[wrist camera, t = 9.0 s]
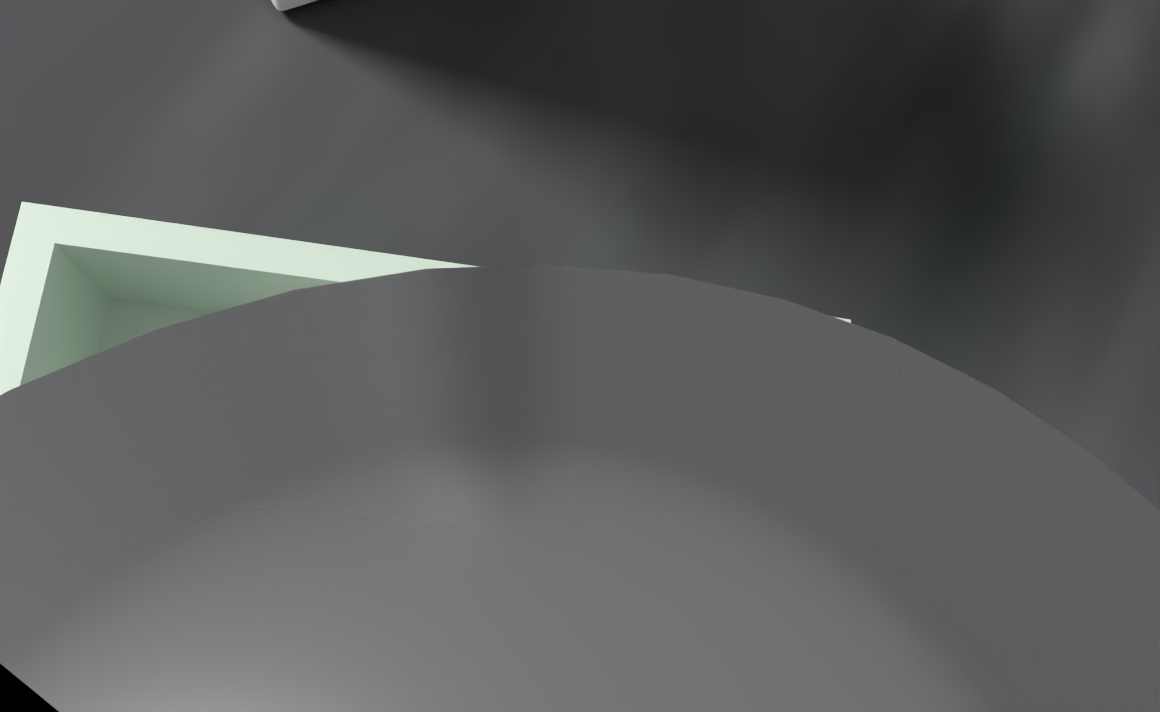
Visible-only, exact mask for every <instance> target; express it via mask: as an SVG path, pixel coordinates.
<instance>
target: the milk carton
mask: <svg viewBox="0 0 1160 712" xmlns="http://www.w3.org/2000/svg"><path fill="white" fill-rule="evenodd" d="M271 1H272V3H273V4H274V6H275V7H276V9H277V10H279V11H285V10H288V9H291V8H295V7H298V6H301V5H304V4H308V3H311V2H314V1H317V0H271Z"/></svg>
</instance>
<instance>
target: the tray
mask: <svg viewBox="0 0 1160 712" xmlns="http://www.w3.org/2000/svg"><path fill="white" fill-rule="evenodd" d="M461 267H477V266H470V265H463V264H456V263H449V262H442V261H435V260H428V259H421V258H414V257H407V256H400V255H393V254H386V253H379V252H372V251H365V250H358V249H351V248H344V247H337V246H330V245H323V244H316V243H309V242H302V241H295V240H287V239H280V238H273V237H266V236H259V235H252V234H245V233H238V232H231V231H224V230H217V229H210V228H203V227H196V226H189V225H182V224H175V223H168V222H161V221H154V220H147V219H140V218H133V217H126V216H119V215H112V214H104V213H97V212H90V211H83V210H76V209H69V208H62V207H55V206H48V205H41V204H34V203H27V202H22V203H21V207H20V211H19V215H18V219H17V223H16V226H15V230H14V234H13V238H12V242H11V246H10V250H9V254H8V257H7V261H6V265H5V269H4V273H3V277H2V281H1V285H0V395H2V394H4V393H5V392H7V391H9V390H11V389H13V388H16V387H18V386H21V385H23V384H25V383H28V382H30V381H33V380H35V379H37V378H40V377H42V376H45V375H47V374H50V373H52V372H54V371H57V370H59V369H62V368H64V367H66V366H69V365H71V364H74V363H76V362H78V361H81V360H83V359H86V358H88V357H90V356H93V355H95V354H98V353H100V352H102V351H105V350H107V349H110V348H112V347H114V346H117V345H119V344H122V343H124V342H126V341H129V340H131V339H134V338H136V337H138V336H141V335H143V334H146V333H148V332H150V331H153V330H155V329H159V328H162V327H166V326H169V325H173V324H176V323H180V322H183V321H187V320H190V319H194V318H197V317H201V316H204V315H208V314H211V313H215V312H218V311H222V310H225V309H229V308H232V307H236V306H239V305H243V304H246V303H250V302H253V301H257V300H260V299H264V298H267V297H271V296H274V295H278V294H281V293H285V292H288V291H292V290H296V289H303V288H309V287H315V286H321V285H328V284H334V283H340V282H347V281H353V280H359V279H365V278H372V277H378V276H384V275H390V274H397V273H403V272H409V271H415V270H422V269H433V268H461ZM835 318H836V317H835ZM838 319H841V320H844V321H846V322H849V323H851V320H850V319H843V318H838Z"/></svg>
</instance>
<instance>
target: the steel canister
mask: <svg viewBox="0 0 1160 712" xmlns="http://www.w3.org/2000/svg"><path fill="white" fill-rule="evenodd" d="M0 712H1160V511H1159V510H1158V509H1157V508H1156V507H1155V506H1153V505H1152V504H1151V503H1150V502H1149V501H1148V500H1146V499H1145V498H1144V497H1143V496H1142V495H1140V494H1139V493H1138V492H1137V491H1136V490H1134V489H1133V488H1132V487H1131V486H1130V485H1128V484H1127V483H1126V482H1125V481H1124V480H1123V479H1121V478H1120V477H1119V476H1118V475H1117V474H1115V473H1114V472H1113V471H1112V470H1111V469H1109V468H1108V467H1107V466H1106V465H1105V464H1103V463H1102V462H1101V461H1100V460H1099V459H1098V458H1096V457H1095V456H1094V455H1093V454H1092V453H1090V452H1089V451H1088V450H1086V449H1085V448H1083V447H1082V446H1080V445H1079V444H1077V443H1076V442H1074V441H1073V440H1071V439H1070V438H1068V437H1066V436H1065V435H1063V434H1062V433H1060V432H1059V431H1057V430H1056V429H1054V428H1053V427H1051V426H1050V425H1048V424H1047V423H1045V422H1044V421H1042V420H1041V419H1039V418H1038V417H1036V416H1035V415H1033V414H1032V413H1030V412H1029V411H1027V410H1026V409H1024V408H1023V407H1021V406H1020V405H1018V404H1017V403H1015V402H1014V401H1012V400H1010V399H1009V398H1007V397H1006V396H1004V395H1003V394H1001V393H1000V392H998V391H997V390H995V389H994V388H992V387H990V386H988V385H986V384H984V383H982V382H980V381H978V380H976V379H974V378H972V377H970V376H968V375H966V374H964V373H962V372H960V371H958V370H956V369H954V368H952V367H950V366H948V365H946V364H944V363H942V362H940V361H938V360H936V359H934V358H932V357H930V356H928V355H926V354H924V353H922V352H920V351H918V350H916V349H914V348H912V347H910V346H908V345H906V344H904V343H902V342H900V341H898V340H896V339H894V338H891V337H889V336H886V335H883V334H880V333H877V332H874V331H872V330H869V329H866V328H863V327H860V326H858V325H855V324H852V323H849V322H846V321H844V320H841V319H838V318H835V317H832V316H829V315H827V314H824V313H821V312H818V311H815V310H813V309H810V308H807V307H804V306H801V305H799V304H796V303H793V302H790V301H787V300H783V299H779V298H774V297H770V296H765V295H761V294H756V293H752V292H747V291H743V290H738V289H733V288H729V287H724V286H720V285H715V284H711V283H706V282H702V281H697V280H693V279H688V278H683V277H679V276H674V275H666V274H655V273H644V272H633V271H622V270H611V269H599V268H588V267H577V266H566V265H555V264H547V265H518V266H490V267H461V268H433V269H422V270H415V271H409V272H403V273H397V274H390V275H384V276H378V277H372V278H365V279H359V280H353V281H347V282H340V283H334V284H328V285H321V286H315V287H309V288H303V289H296V290H292V291H288V292H285V293H281V294H278V295H274V296H271V297H267V298H264V299H260V300H257V301H253V302H250V303H246V304H243V305H239V306H236V307H232V308H229V309H225V310H222V311H218V312H215V313H211V314H208V315H204V316H201V317H197V318H194V319H190V320H187V321H183V322H180V323H176V324H173V325H169V326H166V327H162V328H159V329H155V330H153V331H150V332H148V333H146V334H143V335H141V336H138V337H136V338H134V339H131V340H129V341H126V342H124V343H122V344H119V345H117V346H114V347H112V348H110V349H107V350H105V351H102V352H100V353H98V354H95V355H93V356H90V357H88V358H86V359H83V360H81V361H78V362H76V363H74V364H71V365H69V366H66V367H64V368H62V369H59V370H57V371H54V372H52V373H50V374H47V375H45V376H42V377H40V378H37V379H35V380H33V381H30V382H28V383H25V384H23V385H21V386H18V387H16V388H13V389H11V390H9V391H7V392H5V393H4V394H2V395H0Z"/></svg>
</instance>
